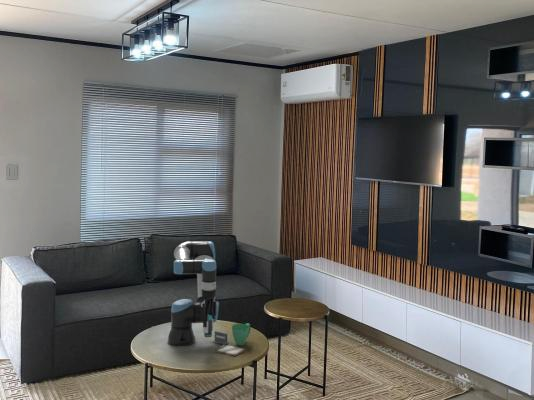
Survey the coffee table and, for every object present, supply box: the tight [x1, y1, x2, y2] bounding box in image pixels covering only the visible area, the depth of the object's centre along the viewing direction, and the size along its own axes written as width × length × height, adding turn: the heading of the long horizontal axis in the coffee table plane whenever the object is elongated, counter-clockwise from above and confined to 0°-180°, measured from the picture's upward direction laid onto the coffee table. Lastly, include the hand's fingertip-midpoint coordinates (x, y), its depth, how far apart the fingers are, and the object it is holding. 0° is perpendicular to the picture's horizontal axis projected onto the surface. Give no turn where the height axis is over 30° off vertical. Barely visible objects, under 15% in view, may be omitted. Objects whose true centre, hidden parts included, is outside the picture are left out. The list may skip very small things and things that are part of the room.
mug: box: [231, 323, 252, 346], centre depth 322 cm, size 15×10×10 cm
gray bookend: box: [212, 330, 230, 345], centre depth 321 cm, size 8×3×6 cm, turn 62°
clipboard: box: [214, 344, 247, 358], centre depth 309 cm, size 13×11×1 cm
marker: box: [203, 314, 213, 338], centre depth 305 cm, size 4×4×11 cm
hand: (208, 331), depth 305 cm, fingers closed on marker, 4 cm apart
